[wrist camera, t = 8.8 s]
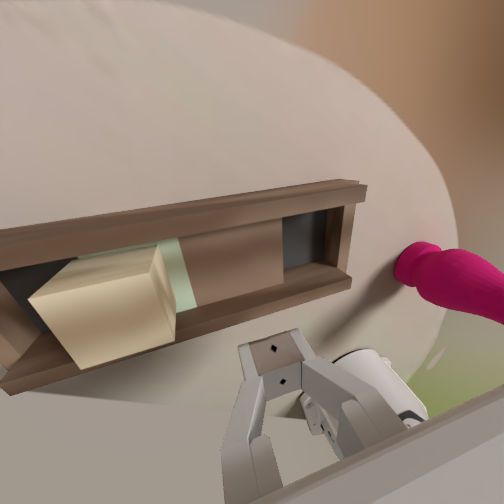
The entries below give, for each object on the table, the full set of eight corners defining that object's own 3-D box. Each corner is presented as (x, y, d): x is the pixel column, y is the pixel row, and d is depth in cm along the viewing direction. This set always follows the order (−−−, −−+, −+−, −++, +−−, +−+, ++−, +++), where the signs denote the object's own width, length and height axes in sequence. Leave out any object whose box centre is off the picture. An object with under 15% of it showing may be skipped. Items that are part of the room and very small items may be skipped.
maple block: (176, 301, 15) (174, 341, 12) (105, 319, 14) (80, 369, 11) (157, 244, 13) (148, 272, 10) (72, 260, 12) (27, 299, 9)
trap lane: (330, 264, 23) (360, 285, 19) (34, 344, 16) (-15, 403, 12) (338, 178, 18) (380, 182, 15) (-58, 238, 12) (-178, 275, 8)
